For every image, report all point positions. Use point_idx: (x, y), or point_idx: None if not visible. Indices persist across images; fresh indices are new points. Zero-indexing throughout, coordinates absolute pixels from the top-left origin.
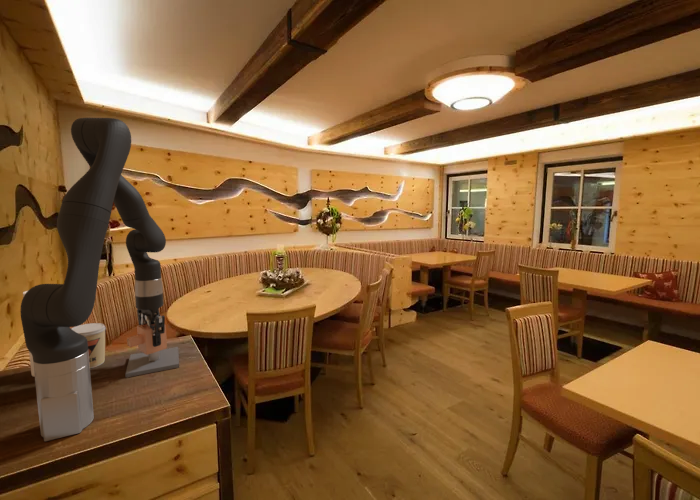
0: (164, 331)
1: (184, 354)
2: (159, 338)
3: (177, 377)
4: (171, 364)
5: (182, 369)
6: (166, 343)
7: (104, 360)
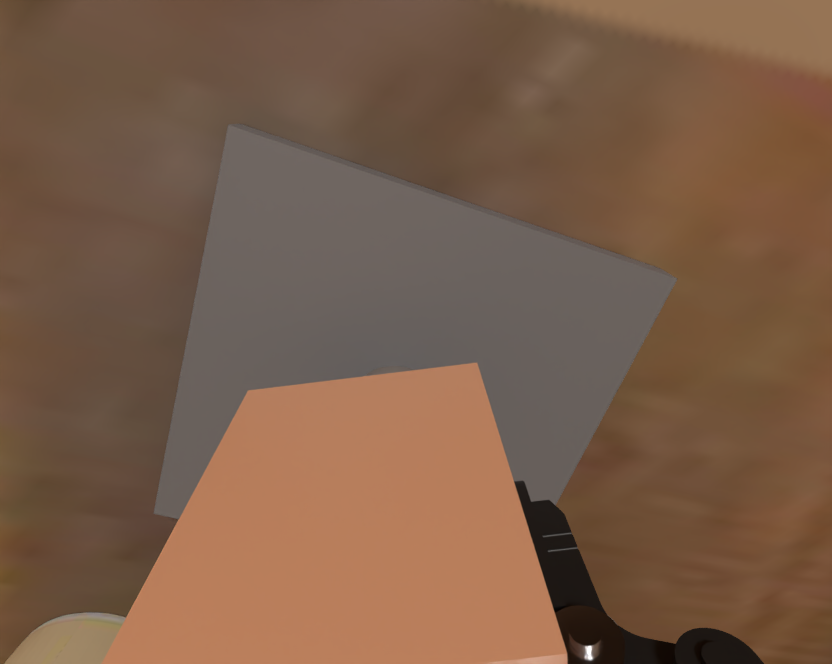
0: (762, 662)
1: (410, 115)
2: (586, 578)
3: (811, 339)
4: (629, 332)
5: (720, 260)
6: (485, 396)
7: (114, 620)
